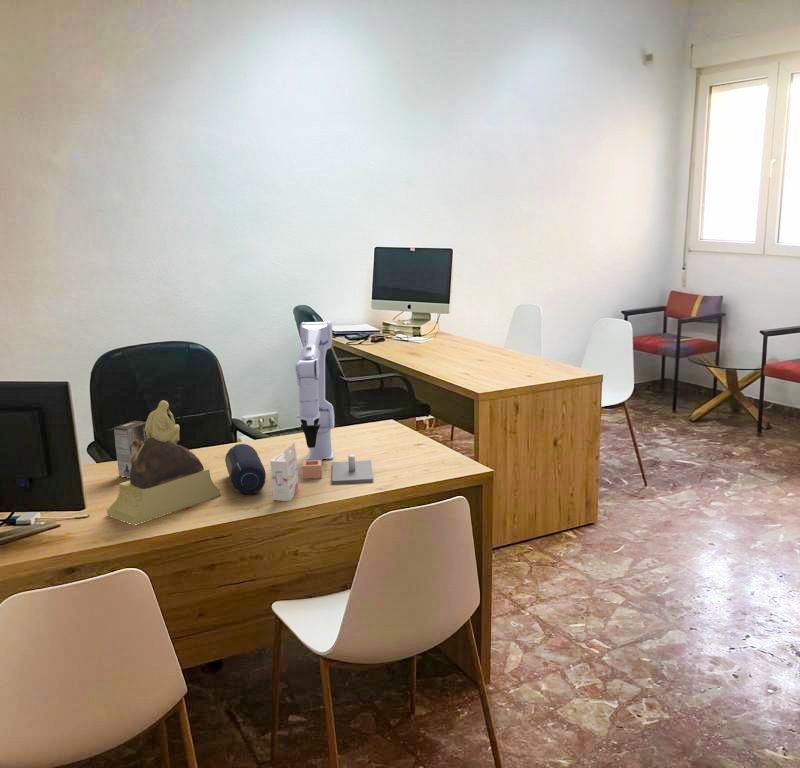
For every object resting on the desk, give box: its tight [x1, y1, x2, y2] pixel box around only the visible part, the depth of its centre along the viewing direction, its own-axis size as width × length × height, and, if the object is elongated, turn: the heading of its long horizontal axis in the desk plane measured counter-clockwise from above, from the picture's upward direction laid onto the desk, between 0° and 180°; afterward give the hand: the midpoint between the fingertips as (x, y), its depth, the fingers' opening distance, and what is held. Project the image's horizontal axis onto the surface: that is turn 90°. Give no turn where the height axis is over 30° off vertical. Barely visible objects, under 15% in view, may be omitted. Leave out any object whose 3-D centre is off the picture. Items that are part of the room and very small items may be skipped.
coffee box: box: [112, 420, 151, 479], centre depth 257 cm, size 9×6×16 cm
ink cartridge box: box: [269, 442, 300, 502], centre depth 233 cm, size 9×5×15 cm, turn 168°
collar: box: [301, 459, 323, 480], centre depth 251 cm, size 6×6×4 cm
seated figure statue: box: [106, 399, 222, 526], centre depth 228 cm, size 28×13×30 cm, turn 141°
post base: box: [331, 454, 374, 485], centre depth 252 cm, size 18×12×6 cm, turn 4°
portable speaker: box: [224, 443, 267, 495], centre depth 245 cm, size 25×10×10 cm, turn 17°
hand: (311, 444), depth 249 cm, fingers open, 7 cm apart
